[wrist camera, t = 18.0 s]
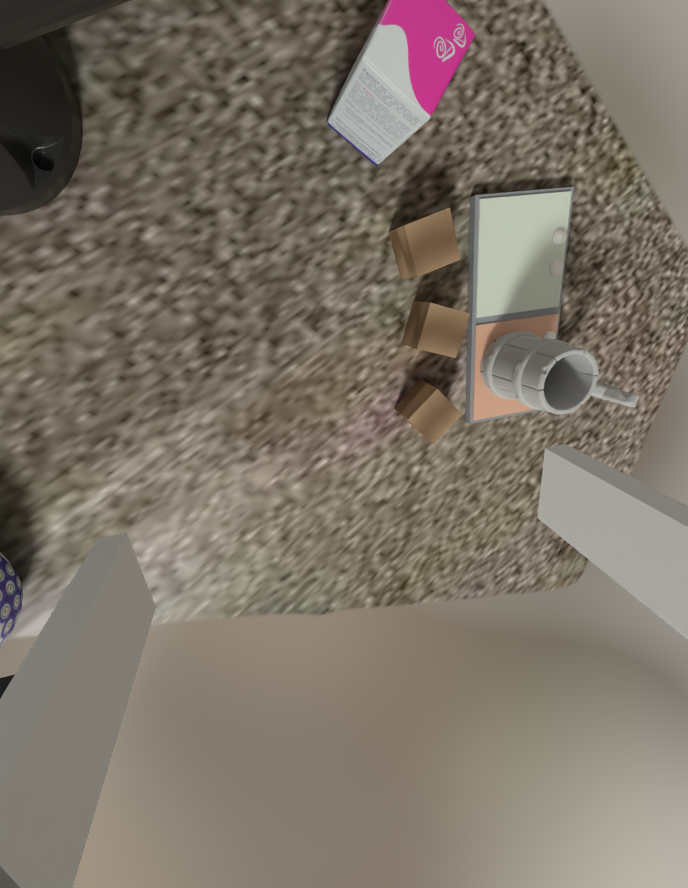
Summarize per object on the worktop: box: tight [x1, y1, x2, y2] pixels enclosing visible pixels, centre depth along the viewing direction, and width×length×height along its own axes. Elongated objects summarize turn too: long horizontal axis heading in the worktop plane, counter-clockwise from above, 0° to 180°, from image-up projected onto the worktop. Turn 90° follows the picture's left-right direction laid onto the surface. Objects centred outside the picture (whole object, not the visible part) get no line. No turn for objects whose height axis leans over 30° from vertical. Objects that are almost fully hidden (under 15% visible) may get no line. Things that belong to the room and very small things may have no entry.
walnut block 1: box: [389, 208, 460, 278], centre depth 38 cm, size 4×4×4 cm
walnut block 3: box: [394, 380, 462, 444], centre depth 45 cm, size 4×4×4 cm
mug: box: [480, 331, 639, 414], centre depth 41 cm, size 8×12×12 cm, turn 74°
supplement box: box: [326, 0, 475, 165], centre depth 30 cm, size 6×6×12 cm
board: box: [466, 187, 574, 424], centre depth 44 cm, size 24×11×1 cm, turn 6°
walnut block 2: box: [402, 301, 470, 358], centre depth 41 cm, size 4×4×4 cm
